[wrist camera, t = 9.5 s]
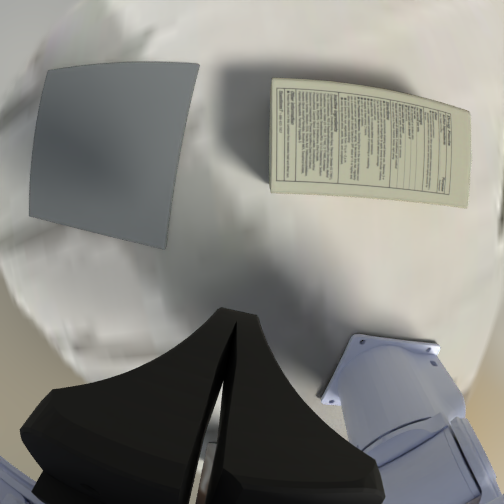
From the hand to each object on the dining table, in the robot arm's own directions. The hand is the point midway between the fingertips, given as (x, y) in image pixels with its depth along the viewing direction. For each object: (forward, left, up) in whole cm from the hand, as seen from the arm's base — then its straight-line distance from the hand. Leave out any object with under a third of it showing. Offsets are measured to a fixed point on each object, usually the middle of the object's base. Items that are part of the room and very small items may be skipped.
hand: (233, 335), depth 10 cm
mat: (+13, -5, -10) cm, 17 cm away
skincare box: (+1, -7, -8) cm, 11 cm away
